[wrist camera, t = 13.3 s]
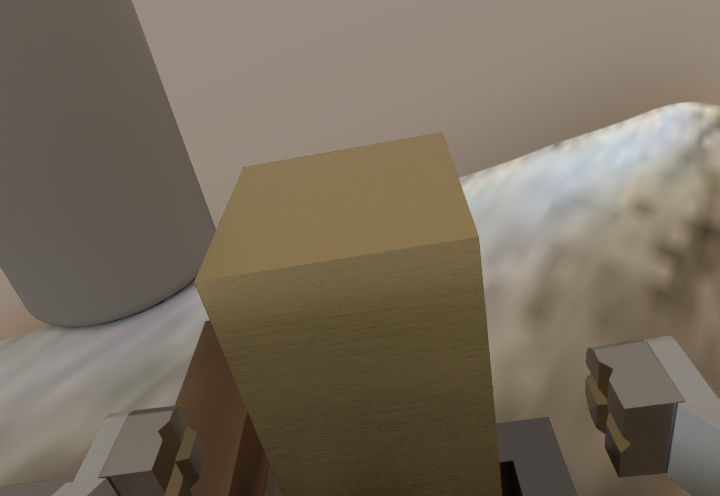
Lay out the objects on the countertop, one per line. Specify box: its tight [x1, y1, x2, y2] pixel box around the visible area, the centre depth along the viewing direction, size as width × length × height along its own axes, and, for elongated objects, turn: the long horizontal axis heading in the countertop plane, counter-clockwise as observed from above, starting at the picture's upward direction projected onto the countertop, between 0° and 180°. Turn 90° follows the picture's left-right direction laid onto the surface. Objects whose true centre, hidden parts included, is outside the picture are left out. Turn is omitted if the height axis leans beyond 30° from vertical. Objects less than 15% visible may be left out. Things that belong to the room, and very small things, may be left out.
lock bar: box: [194, 132, 502, 496], centre depth 13 cm, size 4×4×14 cm
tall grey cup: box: [0, 0, 216, 327], centre depth 32 cm, size 12×12×25 cm
